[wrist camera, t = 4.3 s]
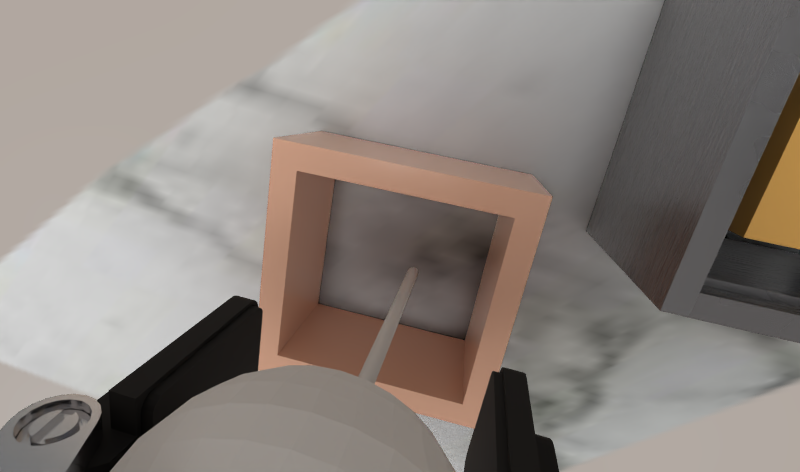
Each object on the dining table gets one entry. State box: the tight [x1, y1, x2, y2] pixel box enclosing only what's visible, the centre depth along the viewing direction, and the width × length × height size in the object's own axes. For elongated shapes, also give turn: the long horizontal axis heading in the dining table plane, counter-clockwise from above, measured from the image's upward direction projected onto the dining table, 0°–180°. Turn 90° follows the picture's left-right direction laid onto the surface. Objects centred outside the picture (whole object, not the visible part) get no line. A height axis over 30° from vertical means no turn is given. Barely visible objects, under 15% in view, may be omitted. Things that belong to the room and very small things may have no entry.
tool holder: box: [258, 131, 553, 429], centre depth 19 cm, size 10×10×5 cm
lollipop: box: [110, 267, 455, 472], centre depth 11 cm, size 6×6×15 cm
